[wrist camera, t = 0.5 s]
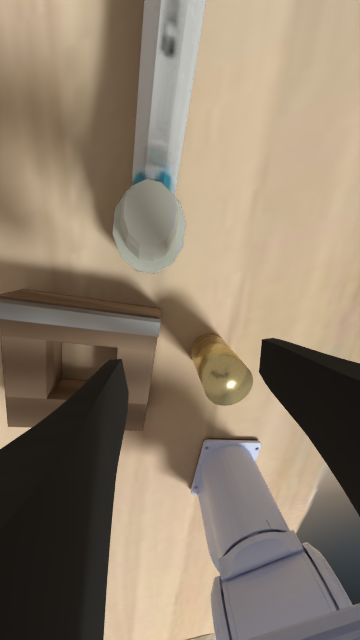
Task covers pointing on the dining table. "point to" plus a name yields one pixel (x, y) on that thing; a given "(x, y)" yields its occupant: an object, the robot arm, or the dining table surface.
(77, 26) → the dining table surface
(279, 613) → the robot arm
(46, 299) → the jig
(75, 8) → the dining table surface
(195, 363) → the tan cylinder
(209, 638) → the calculator
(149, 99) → the grey long knobbed part
